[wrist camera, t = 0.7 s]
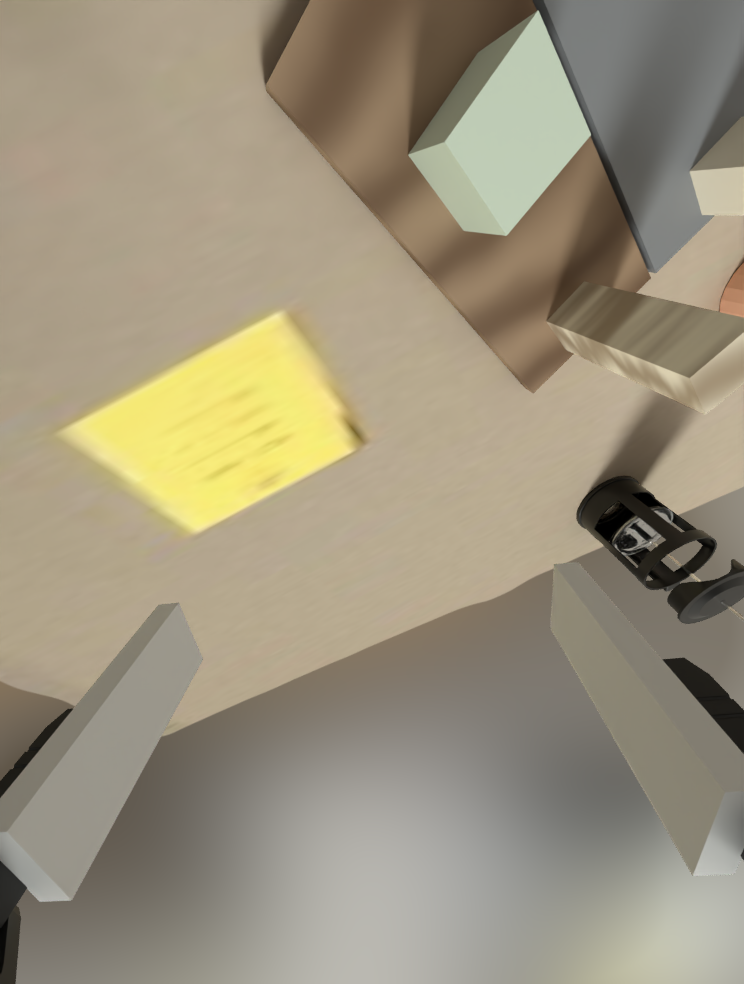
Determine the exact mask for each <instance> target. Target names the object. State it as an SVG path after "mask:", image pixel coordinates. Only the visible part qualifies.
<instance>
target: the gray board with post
mask: <svg viewBox="0 0 744 984" xmlns="http://www.w3.org/2000/svg"><path fill="white" fill-rule="evenodd" d="M533 3H534V5H535V7H536V10H537V11H538V10H539V13H540V15H541V18H542V20H543V22H544V25H545V27H546V29H547V32H548V34H549V36H550V39H551V41H552V43H553V46H554V48H555V51H556V53H557V55H558V58H559V60H560V62H561V65H562V67H563V69H564V72H565V74H566V76H567V79H568V81H569V84H570V86H571V88H572V91H573V93H574V95H575V98H576V100H577V102H578V105H579V107H580V109H581V112H582V114H583V117H584V119H585V121H586V124H587V126H588V128H589V131H590V133H591V139H592V141H593V143H594V146H595V148H596V150H597V153H598V155H599V158H600V160H601V162H602V165H603V167H604V169H605V172H606V174H607V176H608V179H609V181H610V183H611V186H612V188H613V190H614V193H615V195H616V197H617V200H618V202H619V204H620V207H621V209H622V211H623V214H624V216H625V218H626V221H627V223H628V226H629V228H630V230H631V233H632V235H633V237H634V240H635V242H636V244H637V247H638V249H639V251H640V254H641V256H642V258H643V261H644V263H645V265H646V268H647V270H648V272H653V273H657V272H658V271H659V270H660V269H661V268H662V267H663V266H664V265H665V264H666V263H667V262H668V261H669V260H670V259H671V258H672V257H673V256H674V255H675V254H676V253H677V252H678V251H679V250H680V249H681V248H682V247H683V246H684V245H685V244H686V243H687V242H688V241H689V240H690V239H691V238H692V237H693V236H694V235H695V234H696V233H697V232H698V231H699V230H700V229H701V228H702V227H703V226H704V225H705V224H706V223H707V222H709V221H710V220H711V219H712V218H713V217H714V216H715V215H729V216H744V0H533Z"/></svg>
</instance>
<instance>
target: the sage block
mask: <svg viewBox="0 0 744 984" xmlns="http://www.w3.org/2000/svg"><path fill="white" fill-rule="evenodd" d="M590 136H591V133H590V131H589V128H588V126H587V124H586V121H585V119H584V117H583V114H582V112H581V109H580V107H579V105H578V102H577V100H576V98H575V95H574V93H573V91H572V88H571V86H570V84H569V81H568V79H567V76H566V74H565V72H564V69H563V67H562V65H561V62H560V60H559V58H558V55H557V53H556V51H555V48H554V46H553V43H552V41H551V39H550V36H549V34H548V32H547V29H546V27H545V25H544V22H543V20H542V18H541V15H540V13H539V10H538V11H536V12H535V13H533V14H532V15H531V16H529V17H528V18H526V19H525V20H523V21H522V22H521V23H519V24H518V25H516V26H515V27H514V28H512V29H511V30H509V31H508V32H506V33H505V34H504V35H502V36H501V37H499V38H498V39H497V40H495V41H494V42H492V43H491V44H489V45H488V46H487V47H485V48H484V49H482V50H481V51H480V52H478V53H477V55H476V56H475V58H474V59H473V61H472V62H471V64H470V65H469V66H468V68H467V69H466V71H465V72H464V74H463V75H462V77H461V78H460V80H459V81H458V83H457V84H456V85H455V87H454V88H453V90H452V91H451V93H450V94H449V96H448V97H447V99H446V100H445V102H444V103H443V104H442V106H441V107H440V109H439V110H438V112H437V113H436V115H435V116H434V118H433V119H432V120H431V122H430V123H429V125H428V126H427V128H426V129H425V131H424V132H423V134H422V135H421V137H420V138H419V139H418V141H417V142H416V144H415V145H414V147H413V148H412V150H411V151H410V153H409V154H408V156H409V157H410V158H411V160H412V161H413V162H414V164H415V165H416V166H417V168H418V169H419V171H420V172H421V173H422V175H423V176H424V177H425V179H426V180H427V181H428V183H429V184H430V186H431V187H432V188H433V190H434V191H435V192H436V194H437V195H438V196H439V198H440V199H441V201H442V202H443V203H444V205H445V206H446V207H447V209H448V210H449V211H450V213H451V214H452V216H453V217H454V218H455V220H456V221H457V222H458V224H459V225H460V226H461V228H462V229H463V231H469V232H478V233H486V234H495V235H504V236H507V235H508V234H509V232H510V231H511V230H512V229H513V228H514V226H515V225H516V224H517V223H518V222H519V221H520V219H521V218H522V217H523V216H524V215H525V213H526V212H527V211H528V210H529V209H530V207H531V206H532V205H533V204H534V203H535V201H536V200H537V199H538V198H539V197H540V195H541V194H542V193H543V192H544V191H545V189H546V188H547V187H548V186H549V185H550V183H551V182H552V181H553V180H554V179H555V177H556V176H557V175H558V174H559V173H560V171H561V170H562V169H563V168H564V167H565V165H566V164H567V163H568V162H569V161H570V160H571V158H572V157H573V156H574V155H575V154H576V152H577V151H578V150H579V149H580V148H581V146H582V145H583V144H584V143H585V142H586V140H587V139H588V138H589V137H590Z"/></svg>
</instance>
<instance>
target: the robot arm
mask: <svg viewBox="0 0 744 984" xmlns="http://www.w3.org/2000/svg"><path fill="white" fill-rule="evenodd" d="M550 628H551V630H552V632H553V634H554V635H555V637H556V639H557V640H558V642H559V644H560V646H561V648H562V649H563V651H564V653H565V654H566V656H567V658H568V660H569V662H570V663H571V665H572V667H573V668H574V670H575V672H576V674H577V675H578V677H579V679H580V681H581V682H582V684H583V686H584V688H585V689H586V691H587V693H588V695H589V696H590V698H591V700H592V702H593V703H594V705H595V707H596V709H597V710H598V712H599V714H600V715H601V717H602V719H603V721H604V722H605V724H606V726H607V728H608V729H609V731H610V733H611V735H612V736H613V738H614V740H615V742H616V743H617V745H618V747H619V749H620V750H621V752H622V754H623V756H624V757H625V759H626V761H627V762H628V764H629V766H630V768H631V769H632V771H633V773H634V774H635V776H636V778H637V780H638V782H639V783H640V785H641V787H642V789H643V790H644V792H645V794H646V796H647V797H648V799H649V801H650V802H651V804H652V806H653V808H654V809H655V811H656V813H657V815H658V816H659V818H660V820H661V822H662V823H663V825H664V827H665V828H666V830H667V832H668V834H669V836H670V837H671V839H672V841H673V842H674V844H675V846H676V848H677V849H678V851H679V853H680V855H681V856H682V858H683V860H684V862H685V863H686V865H687V867H688V869H689V870H690V872H691V874H692V875H693V876H701V875H727V874H728V875H729V874H735V871H736V869H737V867H738V865H739V863H740V861H741V859H743V860H744V710H743V709H742V708H741V707H740V706H739V705H738V704H737V703H736V702H735V701H734V700H733V699H730V697H729V694H728V693H727V692H726V691H725V690H724V689H723V688H722V687H721V686H720V685H719V684H718V683H717V682H716V681H715V680H714V679H713V678H712V677H711V676H710V675H709V674H708V673H706V672H705V671H703V670H702V669H700V668H699V667H697V666H696V665H694V664H693V663H691V662H690V661H688V660H687V659H685V658H675V659H661V658H660V657H659V655H658V654H657V653H656V652H655V651H654V650H653V648H652V647H651V646H650V645H649V644H648V643H647V642H646V640H645V639H644V638H643V637H642V636H641V634H640V633H639V632H638V631H637V630H636V629H635V627H634V626H633V625H632V624H631V623H630V622H629V621H628V619H627V618H626V617H625V616H624V615H623V614H622V612H621V611H620V610H619V609H618V608H617V607H616V605H615V604H614V603H613V602H612V601H611V600H610V598H609V597H608V596H607V595H606V594H605V593H604V592H603V591H602V589H601V588H600V587H599V586H598V585H597V584H596V582H595V581H594V580H593V579H592V578H591V577H590V576H589V574H588V573H587V572H586V571H585V569H584V568H583V567H582V566H581V565H580V564H579V563H578V562H573V563H563V564H554V576H553V594H552V608H551V624H550ZM202 660H203V658H202V655H201V653H200V651H199V648H198V646H197V644H196V641H195V639H194V637H193V634H192V632H191V630H190V628H189V625H188V623H187V621H186V618H185V616H184V614H183V611H182V609H181V607H180V604H179V603H171V604H161V605H158V606H157V607H156V609H155V610H154V611H153V612H152V613H151V615H150V616H149V617H148V618H147V620H146V621H145V622H144V623H143V624H142V626H141V627H140V628H139V629H138V631H137V632H136V633H135V634H134V635H133V637H132V638H131V639H130V640H129V642H128V643H127V644H126V645H125V646H124V648H123V649H122V650H121V651H120V653H119V654H118V655H117V656H116V657H115V659H114V660H113V661H112V662H111V664H110V665H109V666H108V667H107V668H106V670H105V671H104V672H103V673H102V675H101V676H100V677H99V678H98V679H97V681H96V682H95V683H94V684H93V686H92V687H91V688H90V689H89V690H88V692H87V693H86V694H85V695H84V697H83V698H82V699H81V700H80V701H79V703H78V704H77V705H76V706H75V708H74V709H67V710H66V711H65V712H64V713H63V714H61V715H60V716H59V717H58V718H57V719H55V720H54V721H53V722H52V723H51V724H50V725H48V726H47V727H46V728H45V729H44V731H43V732H42V733H41V734H40V735H39V736H38V738H37V739H36V740H35V741H34V742H33V743H32V745H31V746H30V747H29V750H28V752H25V753H24V754H23V755H22V756H21V758H20V759H19V760H18V761H17V762H16V763H15V765H14V768H13V769H11V770H10V771H9V772H8V773H7V774H6V775H5V776H4V777H3V779H2V780H1V781H0V984H15V982H16V970H17V958H18V946H19V933H20V921H21V916H20V911H19V908H18V907H17V906H16V904H17V903H18V901H19V900H20V898H21V896H22V895H23V893H24V892H25V890H26V889H28V890H29V891H30V892H31V893H32V894H33V895H34V896H35V897H36V898H37V899H38V900H39V901H40V902H43V901H68V900H72V899H73V897H74V895H75V893H76V891H77V889H78V888H79V886H80V884H81V882H82V880H83V879H84V877H85V875H86V873H87V871H88V869H89V868H90V866H91V864H92V862H93V860H94V858H95V857H96V855H97V853H98V851H99V849H100V847H101V846H102V844H103V842H104V840H105V838H106V836H107V835H108V833H109V831H110V829H111V827H112V825H113V824H114V822H115V820H116V818H117V816H118V814H119V813H120V811H121V809H122V807H123V805H124V803H125V802H126V800H127V798H128V796H129V794H130V792H131V790H132V789H133V787H134V785H135V783H136V781H137V779H138V778H139V776H140V774H141V772H142V770H143V769H144V767H145V765H146V763H147V761H148V759H149V757H150V756H151V754H152V752H153V750H154V748H155V747H156V745H157V743H158V741H159V739H160V737H161V736H162V734H163V732H164V730H165V728H166V726H167V725H168V723H169V721H170V719H171V717H172V715H173V714H174V712H175V710H176V708H177V706H178V704H179V703H180V701H181V699H182V697H183V695H184V693H185V692H186V690H187V688H188V686H189V684H190V682H191V681H192V679H193V677H194V675H195V673H196V671H197V670H198V668H199V666H200V664H201V662H202Z"/></svg>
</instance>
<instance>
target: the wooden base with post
mask: <svg viewBox="0 0 744 984" xmlns="http://www.w3.org/2000/svg"><path fill="white" fill-rule="evenodd" d="M536 11H537V10H536V7H535V5H534V3H533V0H310V2H309V4H308V6H307V7H306V9H305V11H304V13H303V15H302V17H301V19H300V21H299V23H298V25H297V27H296V28H295V30H294V32H293V34H292V36H291V38H290V40H289V42H288V44H287V46H286V48H285V49H284V51H283V53H282V55H281V57H280V59H279V61H278V63H277V65H276V67H275V69H274V70H273V72H272V74H271V76H270V78H269V80H268V82H267V84H266V91H267V93H268V94H269V95H270V96H271V97H272V98H273V99H274V101H275V102H276V103H277V104H278V105H279V106H280V107H281V109H282V110H283V111H284V112H285V113H286V114H287V115H288V117H289V118H290V119H291V120H292V121H293V122H294V124H295V125H296V126H297V127H298V128H299V129H300V130H301V132H302V133H303V134H304V135H305V136H306V137H307V138H308V140H309V141H310V142H311V143H312V144H313V145H314V146H315V148H316V149H317V150H318V151H319V152H320V153H321V154H322V156H323V157H324V158H325V159H326V160H327V161H328V162H329V164H330V165H331V166H332V167H333V168H334V169H335V171H336V172H337V173H338V174H339V175H340V176H341V177H342V179H343V180H344V181H345V182H346V183H347V184H348V185H349V187H350V188H351V189H352V190H353V191H354V192H355V193H356V195H357V196H358V197H359V198H360V199H361V200H362V201H363V203H364V204H365V205H366V206H367V207H368V208H369V210H370V211H371V212H372V213H373V214H374V215H375V216H376V218H377V219H378V220H379V221H380V222H381V223H382V224H383V226H384V227H385V228H386V229H387V230H388V231H389V232H390V234H391V235H392V236H393V237H394V238H395V239H396V240H397V242H398V243H399V244H400V245H401V246H402V247H403V248H404V250H405V251H406V252H407V253H408V254H409V255H410V257H411V258H412V259H413V260H414V261H415V262H416V263H417V265H418V266H419V267H420V268H421V269H422V270H423V271H424V273H425V274H426V275H427V276H428V277H429V278H430V279H431V281H432V282H433V283H434V284H435V285H436V286H437V287H438V289H439V290H440V291H441V292H442V293H443V294H444V296H445V297H446V298H447V299H448V300H449V301H450V302H451V304H452V305H453V306H454V307H455V308H456V309H457V310H458V312H459V313H460V314H461V315H462V316H463V317H464V318H465V320H466V321H467V322H468V323H469V324H470V325H471V326H472V328H473V329H474V330H475V331H476V332H477V333H478V335H479V336H480V337H481V338H482V339H483V340H484V341H485V343H486V344H487V345H488V346H489V347H490V348H491V349H492V351H493V352H494V353H495V354H496V355H497V356H498V357H499V359H500V360H501V361H502V362H503V363H504V364H505V365H506V367H507V368H508V369H509V370H510V371H511V372H512V373H513V375H514V376H515V377H516V378H517V379H518V380H519V382H520V383H521V384H522V385H523V386H524V387H525V388H526V389H528V390H529V391H530V392H532V393H534V392H535V391H536V390H537V389H538V388H539V387H540V386H541V385H542V384H543V383H544V382H545V381H546V380H548V379H549V378H550V377H551V376H552V375H553V374H554V373H555V372H556V371H557V370H558V369H559V368H560V367H561V366H562V365H563V364H564V363H565V362H566V361H567V360H568V359H569V358H570V357H571V356H572V355H573V354H576V355H578V356H580V357H582V358H584V359H586V360H589V361H591V362H593V363H595V364H597V365H599V366H602V367H604V368H606V369H608V370H610V371H612V372H615V373H617V374H619V375H621V376H623V377H625V378H627V379H630V380H632V381H634V382H636V383H638V384H640V385H643V386H645V387H647V388H649V389H651V390H653V391H655V392H658V393H660V394H662V395H664V396H666V397H668V398H671V399H673V400H675V401H677V402H679V403H681V404H684V405H686V406H688V407H690V408H692V409H694V410H696V411H699V412H701V413H703V414H705V415H706V414H707V413H708V412H709V411H711V410H712V409H713V408H714V407H716V406H717V405H718V404H719V403H721V402H722V401H723V400H724V399H726V398H727V397H728V396H729V395H731V394H732V393H733V392H734V391H736V390H737V389H738V388H739V387H741V386H742V385H743V384H744V318H743V317H739V316H734V315H730V314H726V313H721V312H717V311H712V310H708V309H704V308H699V307H695V306H690V305H686V304H682V303H677V302H673V301H668V300H664V299H660V298H655V297H651V296H646V295H642V294H638V293H636V292H637V291H638V290H639V289H640V288H641V287H642V286H643V285H644V284H645V283H646V282H647V281H648V280H649V279H650V278H651V277H650V275H649V272H648V270H647V268H646V265H645V263H644V261H643V258H642V256H641V254H640V251H639V249H638V247H637V244H636V242H635V240H634V237H633V235H632V233H631V230H630V228H629V226H628V223H627V221H626V218H625V216H624V214H623V211H622V209H621V207H620V204H619V202H618V200H617V197H616V195H615V193H614V190H613V188H612V186H611V183H610V181H609V179H608V176H607V174H606V172H605V169H604V167H603V165H602V162H601V160H600V158H599V155H598V153H597V150H596V148H595V146H594V143H593V141H592V139H591V136H590V137H589V138H588V139H587V140H586V142H585V143H584V144H583V145H582V146H581V148H580V149H579V150H578V151H577V152H576V154H575V155H574V156H573V157H572V158H571V160H570V161H569V162H568V163H567V164H566V165H565V167H564V168H563V169H562V170H561V171H560V173H559V174H558V175H557V176H556V177H555V179H554V180H553V181H552V182H551V183H550V185H549V186H548V187H547V188H546V189H545V191H544V192H543V193H542V194H541V195H540V197H539V198H538V199H537V200H536V201H535V203H534V204H533V205H532V206H531V207H530V209H529V210H528V211H527V212H526V213H525V215H524V216H523V217H522V218H521V219H520V221H519V222H518V223H517V224H516V225H515V226H514V228H513V229H512V230H511V231H510V232H509V234H508V235H507V236H504V235H495V234H486V233H478V232H469V231H463V229H462V228H461V226H460V225H459V224H458V222H457V221H456V220H455V218H454V217H453V216H452V214H451V213H450V211H449V210H448V209H447V207H446V206H445V205H444V203H443V202H442V201H441V199H440V198H439V196H438V195H437V194H436V192H435V191H434V190H433V188H432V187H431V186H430V184H429V183H428V181H427V180H426V179H425V177H424V176H423V175H422V173H421V172H420V171H419V169H418V168H417V166H416V165H415V164H414V162H413V161H412V160H411V158H410V157H409V156H408V154H409V153H410V151H411V150H412V148H413V147H414V145H415V144H416V142H417V141H418V139H419V138H420V137H421V135H422V134H423V132H424V131H425V129H426V128H427V126H428V125H429V123H430V122H431V120H432V119H433V118H434V116H435V115H436V113H437V112H438V110H439V109H440V107H441V106H442V104H443V103H444V102H445V100H446V99H447V97H448V96H449V94H450V93H451V91H452V90H453V88H454V87H455V85H456V84H457V83H458V81H459V80H460V78H461V77H462V75H463V74H464V72H465V71H466V69H467V68H468V66H469V65H470V64H471V62H472V61H473V59H474V58H475V56H476V55H477V53H478V52H480V51H481V50H482V49H484V48H485V47H487V46H488V45H489V44H491V43H492V42H494V41H495V40H497V39H498V38H499V37H501V36H502V35H504V34H505V33H506V32H508V31H509V30H511V29H512V28H514V27H515V26H516V25H518V24H519V23H521V22H522V21H523V20H525V19H526V18H528V17H529V16H531V15H532V14H533V13H535V12H536Z"/></svg>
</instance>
